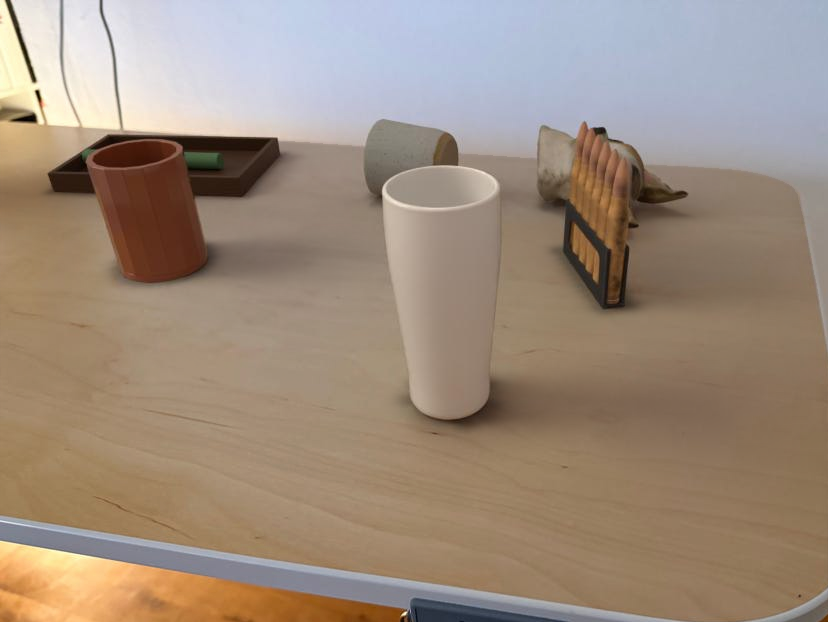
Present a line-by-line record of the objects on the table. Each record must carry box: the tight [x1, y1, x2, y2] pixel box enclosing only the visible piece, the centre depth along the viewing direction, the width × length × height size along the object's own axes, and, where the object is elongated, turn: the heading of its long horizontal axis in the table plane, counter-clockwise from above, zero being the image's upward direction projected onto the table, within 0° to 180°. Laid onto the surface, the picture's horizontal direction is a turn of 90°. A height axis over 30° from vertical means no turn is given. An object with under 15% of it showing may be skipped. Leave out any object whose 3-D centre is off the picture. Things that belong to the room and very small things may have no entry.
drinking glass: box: [381, 165, 503, 421], centre depth 46 cm, size 7×7×15 cm
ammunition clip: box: [562, 120, 631, 309], centre depth 61 cm, size 11×2×12 cm, turn 12°
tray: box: [47, 133, 281, 197], centre depth 85 cm, size 13×21×2 cm, turn 85°
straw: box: [82, 148, 224, 170], centre depth 85 cm, size 4×2×16 cm
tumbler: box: [86, 139, 209, 283], centre depth 64 cm, size 7×7×10 cm
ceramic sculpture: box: [536, 124, 689, 229], centre depth 73 cm, size 11×9×15 cm
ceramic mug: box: [363, 118, 460, 196], centre depth 78 cm, size 11×8×8 cm
